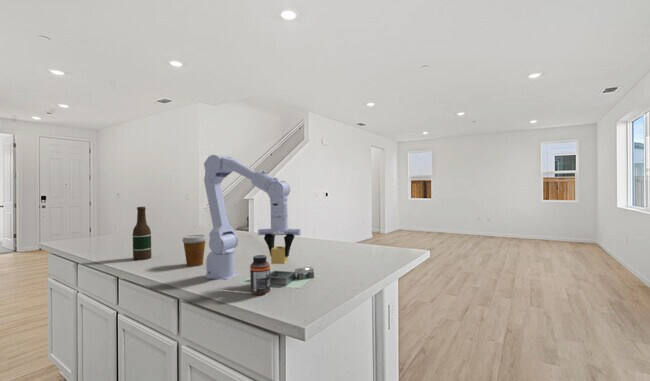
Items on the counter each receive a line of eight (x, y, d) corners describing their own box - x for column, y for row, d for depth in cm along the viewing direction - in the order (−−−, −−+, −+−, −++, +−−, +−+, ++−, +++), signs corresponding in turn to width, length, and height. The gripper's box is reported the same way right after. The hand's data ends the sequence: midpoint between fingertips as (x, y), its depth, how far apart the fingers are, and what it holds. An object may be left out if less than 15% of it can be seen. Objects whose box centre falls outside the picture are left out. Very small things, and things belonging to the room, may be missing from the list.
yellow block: (275, 260, 114) (275, 245, 114) (287, 260, 113) (287, 245, 113) (271, 263, 109) (271, 248, 109) (284, 264, 109) (284, 248, 109)
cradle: (263, 285, 108) (263, 276, 108) (274, 278, 116) (274, 270, 116) (286, 287, 106) (286, 278, 106) (295, 280, 113) (295, 271, 113)
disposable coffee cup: (180, 264, 139) (179, 236, 139) (202, 260, 145) (202, 233, 145) (186, 268, 131) (185, 238, 131) (210, 264, 137) (209, 236, 137)
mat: (238, 284, 110) (238, 283, 110) (260, 271, 125) (260, 270, 125) (299, 289, 103) (299, 288, 103) (315, 275, 119) (315, 274, 119)
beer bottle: (155, 257, 152) (154, 206, 152) (138, 261, 146) (137, 207, 145) (146, 256, 156) (145, 206, 156) (129, 259, 150) (128, 207, 149)
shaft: (298, 281, 112) (298, 270, 112) (294, 278, 115) (294, 267, 115) (314, 278, 115) (314, 267, 115) (309, 276, 118) (309, 265, 118)
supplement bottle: (252, 289, 104) (251, 254, 103) (270, 289, 104) (270, 253, 104) (249, 296, 98) (248, 258, 97) (269, 295, 98) (268, 257, 98)
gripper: (254, 217, 108) (255, 258, 109) (297, 217, 106) (297, 259, 106) (261, 215, 115) (262, 253, 116) (301, 215, 113) (302, 254, 113)
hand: (279, 256), depth 111 cm, fingers closed on yellow block, 4 cm apart
